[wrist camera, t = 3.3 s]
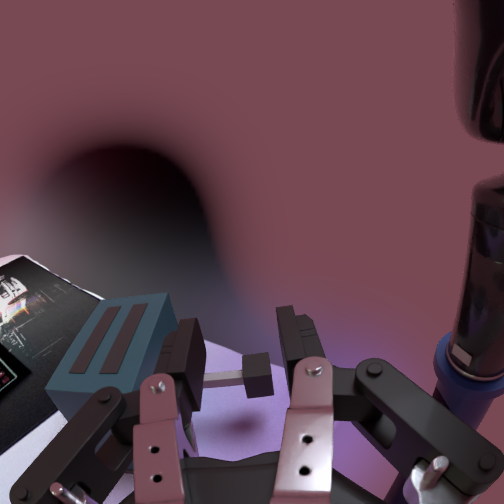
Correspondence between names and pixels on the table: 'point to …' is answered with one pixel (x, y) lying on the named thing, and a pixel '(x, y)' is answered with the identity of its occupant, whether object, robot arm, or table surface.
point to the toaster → (113, 351)
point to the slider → (246, 376)
